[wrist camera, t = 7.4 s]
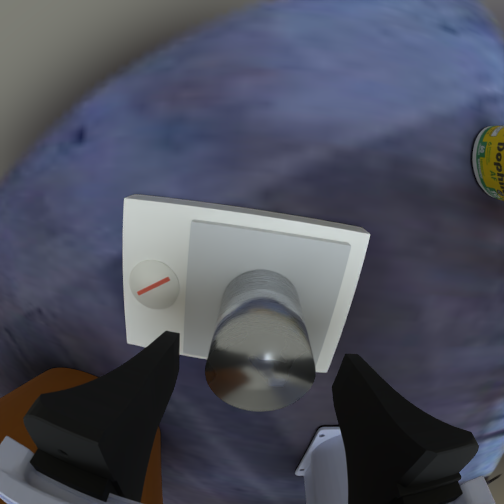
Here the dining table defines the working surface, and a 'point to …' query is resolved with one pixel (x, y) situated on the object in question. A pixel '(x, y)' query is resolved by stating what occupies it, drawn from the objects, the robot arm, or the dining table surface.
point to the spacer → (260, 344)
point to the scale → (231, 268)
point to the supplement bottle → (490, 161)
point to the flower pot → (56, 379)
